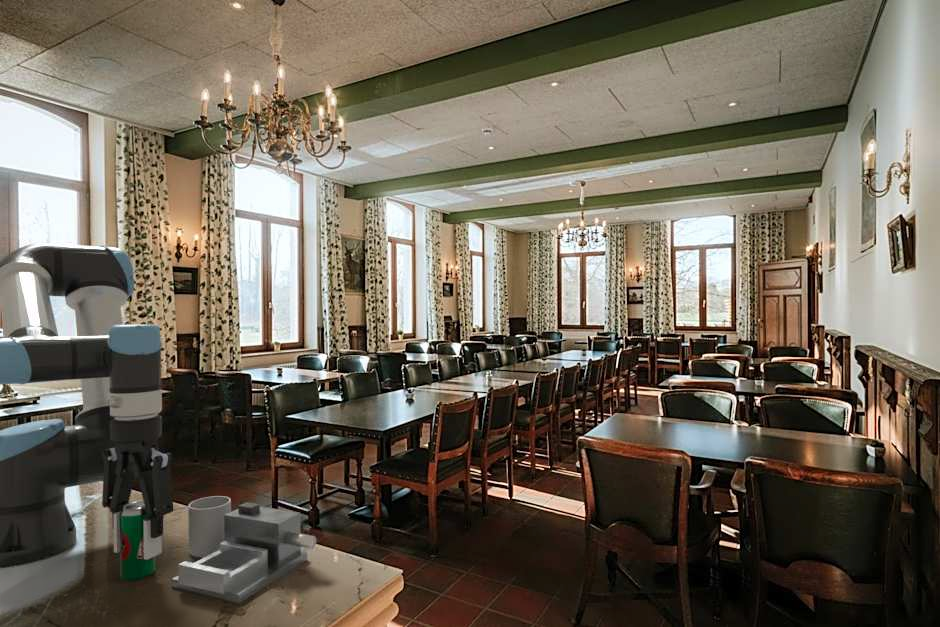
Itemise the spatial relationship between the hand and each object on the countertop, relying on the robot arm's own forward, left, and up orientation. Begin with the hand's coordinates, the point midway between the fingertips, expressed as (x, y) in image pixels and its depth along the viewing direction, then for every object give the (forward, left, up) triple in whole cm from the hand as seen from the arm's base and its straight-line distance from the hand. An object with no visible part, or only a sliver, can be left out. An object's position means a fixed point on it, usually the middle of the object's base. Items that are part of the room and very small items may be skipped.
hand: (137, 552), depth 93 cm
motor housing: (+16, +7, -4) cm, 18 cm away
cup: (+2, +12, -4) cm, 13 cm away
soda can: (0, 0, -4) cm, 4 cm away
